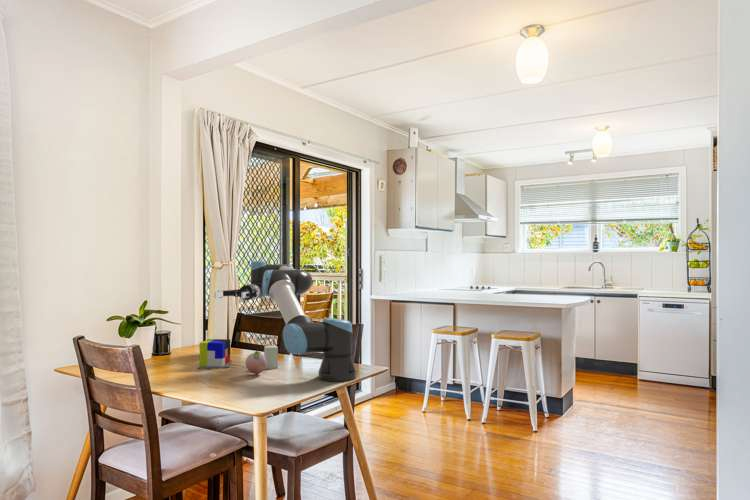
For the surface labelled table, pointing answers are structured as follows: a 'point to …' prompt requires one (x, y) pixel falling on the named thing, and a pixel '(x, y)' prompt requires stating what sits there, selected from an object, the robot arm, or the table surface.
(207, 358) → the puzzle toy
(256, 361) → the decorative fruit
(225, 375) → the table surface
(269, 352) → the sage block
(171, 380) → the table surface
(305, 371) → the table surface
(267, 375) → the table surface
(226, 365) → the mat
